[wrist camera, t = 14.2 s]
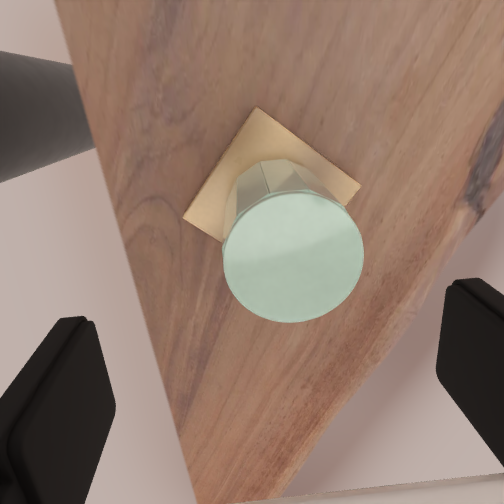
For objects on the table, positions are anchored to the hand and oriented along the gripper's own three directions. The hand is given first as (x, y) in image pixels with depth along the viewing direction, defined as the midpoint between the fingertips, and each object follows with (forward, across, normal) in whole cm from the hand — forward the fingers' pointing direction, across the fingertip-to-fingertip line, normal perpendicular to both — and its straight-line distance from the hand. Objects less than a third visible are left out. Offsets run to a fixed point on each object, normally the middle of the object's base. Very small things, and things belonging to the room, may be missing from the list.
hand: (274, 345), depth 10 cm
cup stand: (+22, -2, +2) cm, 22 cm away
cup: (+18, -2, +2) cm, 19 cm away
